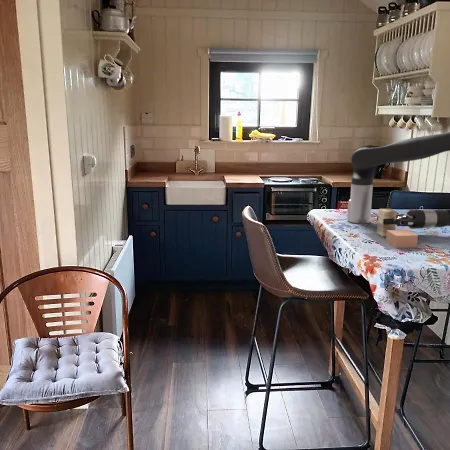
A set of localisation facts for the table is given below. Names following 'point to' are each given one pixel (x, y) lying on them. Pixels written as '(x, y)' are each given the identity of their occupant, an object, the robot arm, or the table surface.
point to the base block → (401, 238)
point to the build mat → (382, 241)
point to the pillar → (385, 215)
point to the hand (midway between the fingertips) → (380, 220)
